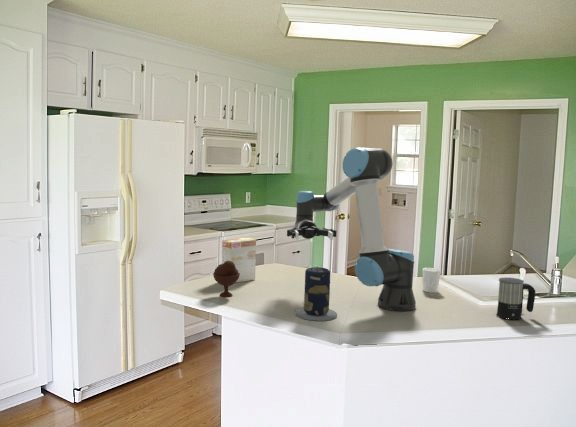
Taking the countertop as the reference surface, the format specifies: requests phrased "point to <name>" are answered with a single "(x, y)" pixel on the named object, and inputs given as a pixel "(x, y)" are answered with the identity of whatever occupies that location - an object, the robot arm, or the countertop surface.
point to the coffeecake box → (241, 256)
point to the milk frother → (513, 298)
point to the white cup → (430, 279)
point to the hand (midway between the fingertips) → (314, 236)
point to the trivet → (310, 317)
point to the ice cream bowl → (226, 276)
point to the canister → (317, 291)
